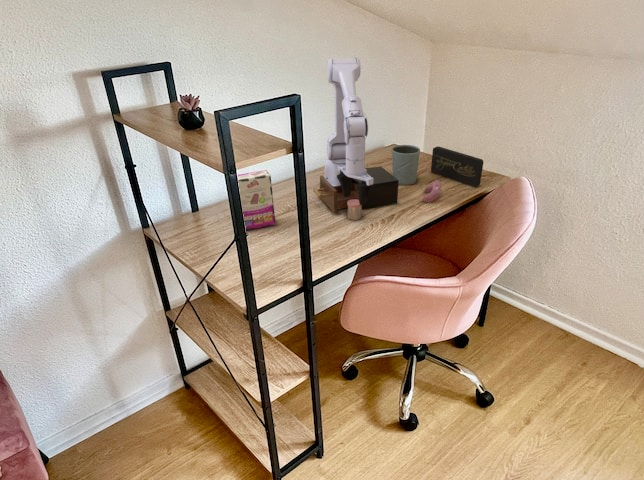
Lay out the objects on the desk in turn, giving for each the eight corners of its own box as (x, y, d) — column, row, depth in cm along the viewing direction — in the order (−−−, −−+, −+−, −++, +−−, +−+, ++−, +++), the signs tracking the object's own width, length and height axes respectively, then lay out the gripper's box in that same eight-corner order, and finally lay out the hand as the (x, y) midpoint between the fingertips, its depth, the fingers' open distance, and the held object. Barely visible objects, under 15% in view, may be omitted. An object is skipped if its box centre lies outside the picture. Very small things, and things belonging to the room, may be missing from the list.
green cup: (417, 186, 178) (419, 154, 171) (389, 184, 179) (390, 152, 173) (417, 176, 186) (420, 145, 180) (391, 174, 187) (392, 143, 181)
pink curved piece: (432, 207, 166) (444, 191, 162) (421, 201, 166) (432, 184, 162) (434, 196, 174) (445, 180, 170) (423, 189, 174) (434, 173, 170)
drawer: (323, 215, 157) (322, 192, 153) (310, 198, 168) (309, 177, 164) (369, 207, 162) (370, 185, 158) (353, 191, 173) (354, 170, 169)
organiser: (362, 209, 161) (362, 185, 157) (346, 193, 172) (346, 171, 168) (397, 203, 165) (398, 180, 161) (379, 188, 176) (380, 166, 172)
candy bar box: (271, 218, 156) (266, 169, 147) (275, 225, 152) (271, 175, 143) (236, 225, 152) (229, 174, 143) (240, 232, 148) (233, 180, 140)
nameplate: (430, 172, 190) (433, 146, 184) (433, 170, 191) (436, 145, 185) (476, 187, 177) (480, 161, 171) (479, 186, 178) (483, 159, 172)
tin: (344, 218, 156) (344, 203, 153) (351, 212, 160) (351, 198, 157) (357, 221, 154) (357, 206, 151) (364, 216, 158) (364, 201, 155)
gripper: (381, 161, 144) (379, 204, 151) (350, 148, 153) (349, 189, 161) (363, 166, 140) (362, 210, 147) (332, 153, 149) (332, 194, 157)
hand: (354, 199), depth 154 cm, fingers open, 7 cm apart
